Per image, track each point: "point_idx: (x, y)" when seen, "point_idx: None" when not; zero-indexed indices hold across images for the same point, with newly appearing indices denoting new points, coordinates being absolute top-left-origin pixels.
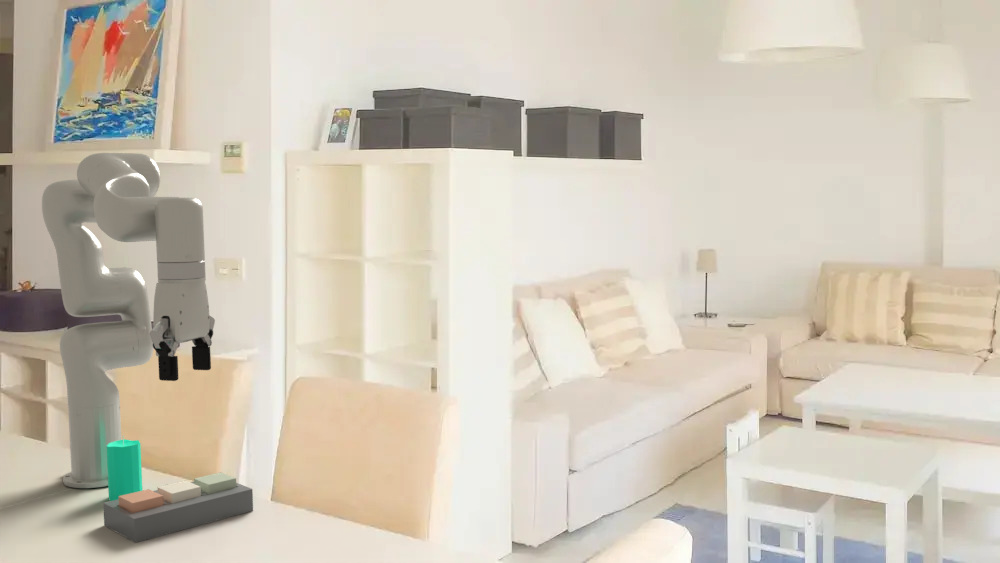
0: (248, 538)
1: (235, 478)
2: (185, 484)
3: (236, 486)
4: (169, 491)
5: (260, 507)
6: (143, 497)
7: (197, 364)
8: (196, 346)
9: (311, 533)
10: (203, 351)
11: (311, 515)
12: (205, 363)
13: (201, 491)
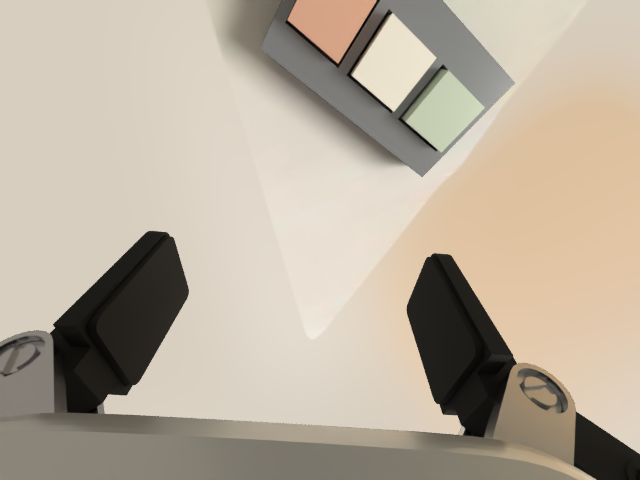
0: (313, 198)
1: (440, 151)
2: (408, 72)
3: None
4: (364, 61)
5: None
6: (323, 23)
7: (428, 289)
8: (474, 377)
9: (337, 250)
10: (438, 374)
11: (393, 235)
12: (416, 323)
13: (413, 98)
